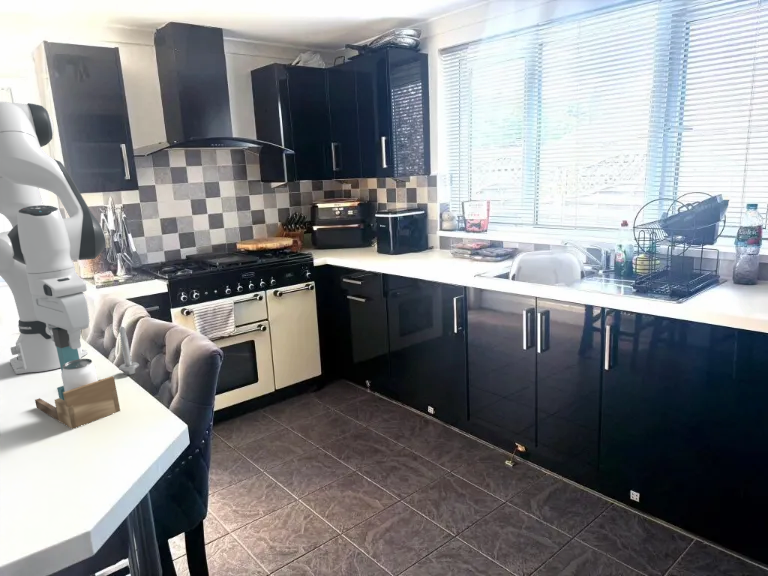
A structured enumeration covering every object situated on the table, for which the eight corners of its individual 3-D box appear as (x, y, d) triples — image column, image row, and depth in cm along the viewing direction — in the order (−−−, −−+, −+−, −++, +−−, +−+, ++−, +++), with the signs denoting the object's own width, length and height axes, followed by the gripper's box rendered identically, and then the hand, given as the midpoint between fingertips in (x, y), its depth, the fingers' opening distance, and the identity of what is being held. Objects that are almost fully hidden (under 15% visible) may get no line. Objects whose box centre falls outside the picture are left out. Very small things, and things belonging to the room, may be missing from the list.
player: (61, 412, 119) (43, 330, 115) (91, 401, 124) (75, 322, 120) (67, 415, 117) (49, 332, 113) (97, 404, 122) (81, 324, 118)
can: (97, 404, 123) (87, 355, 119) (108, 413, 118) (98, 362, 115) (65, 415, 118) (55, 364, 115) (76, 424, 114) (65, 372, 111)
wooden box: (36, 407, 124) (29, 375, 122) (82, 392, 132) (75, 361, 130) (72, 429, 112) (64, 393, 110) (120, 410, 119) (113, 376, 117)
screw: (119, 378, 140) (120, 372, 144) (139, 374, 141) (140, 368, 146) (110, 330, 137) (112, 325, 141) (131, 326, 138) (132, 322, 143)
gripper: (19, 282, 118) (32, 341, 121) (56, 290, 106) (70, 356, 109) (50, 276, 123) (62, 334, 126) (89, 283, 110) (101, 347, 113)
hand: (66, 344), depth 117 cm, fingers open, 8 cm apart
